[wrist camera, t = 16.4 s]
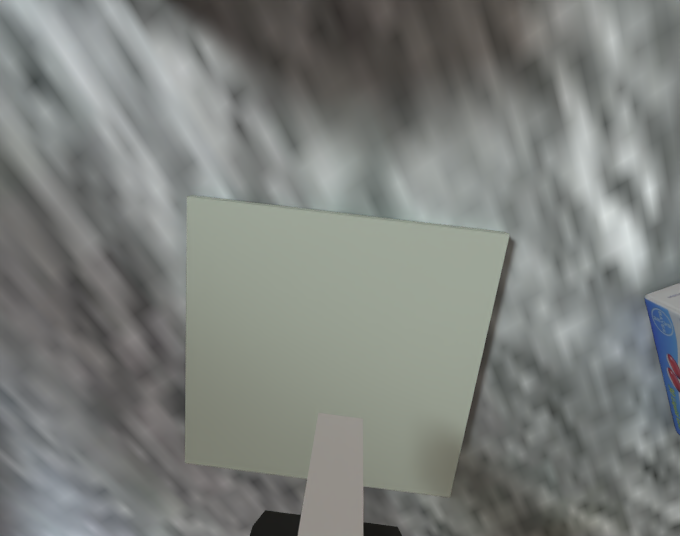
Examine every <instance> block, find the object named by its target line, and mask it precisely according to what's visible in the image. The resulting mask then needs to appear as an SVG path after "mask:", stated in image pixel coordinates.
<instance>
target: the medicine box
mask: <svg viewBox="0 0 680 536" xmlns="http://www.w3.org/2000/svg"><path fill="white" fill-rule="evenodd" d="M645 303H646V307H647V311H648V314H649V318H650V322H651V327H652V331H653V335H654V340H655V344H656V348H657V352H658V357H659V361H660V365H661V369H662V373H663V377H664V382H665V386H666V390H667V395H668V399H669V403H670V407H671V412H672V415H673V420H674V424H675V428H676V431H677V433H678V434H679V435H680V283H678V284H675V285H672V286H670V287H667V288H664V289H661V290H658V291H655V292H652V293H649V294H647V295H646V296H645Z"/></svg>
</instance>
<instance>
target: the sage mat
mask: <svg viewBox="0 0 680 536" xmlns="http://www.w3.org/2000/svg"><path fill="white" fill-rule="evenodd" d="M509 236H510V235H509V234H508V233H506V232H500V231H491V230H483V229H474V228H466V227H457V226H449V225H440V224H432V223H423V222H415V221H406V220H398V219H389V218H381V217H372V216H364V215H355V214H347V213H338V212H330V211H321V210H313V209H304V208H296V207H287V206H279V205H270V204H262V203H253V202H245V201H236V200H228V199H219V198H211V197H202V196H194V195H192V196H188V197H187V261H186V389H185V463H188V464H196V465H203V466H211V467H219V468H227V469H234V470H242V471H250V472H257V473H265V474H273V475H280V476H288V477H296V478H303V479H307V477H308V472H309V466H310V460H311V454H312V448H313V442H314V436H315V430H316V424H317V419H318V413H324V414H332V415H339V416H347V417H355V418H362V419H363V486H365V487H373V488H380V489H388V490H396V491H403V492H411V493H419V494H426V495H434V496H442V497H449V498H450V495H451V490H452V486H453V482H454V477H455V473H456V468H457V464H458V460H459V455H460V451H461V446H462V442H463V438H464V433H465V429H466V424H467V420H468V416H469V411H470V407H471V402H472V398H473V394H474V389H475V385H476V381H477V376H478V372H479V367H480V363H481V359H482V354H483V350H484V345H485V341H486V337H487V332H488V328H489V323H490V319H491V315H492V310H493V306H494V301H495V297H496V293H497V288H498V284H499V280H500V275H501V271H502V266H503V262H504V258H505V253H506V249H507V244H508V240H509Z"/></svg>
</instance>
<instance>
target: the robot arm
mask: <svg viewBox="0 0 680 536" xmlns="http://www.w3.org/2000/svg"><path fill="white" fill-rule="evenodd" d="M250 536H402V535H401V533H400V531H399V529H398V527H394V526H386V525H379V524H371V523H364V522H363V419H362V418H355V417H347V416H339V415H332V414H324V413H318V419H317V424H316V430H315V436H314V442H313V448H312V454H311V460H310V466H309V472H308V477H307V483H306V489H305V495H304V501H303V507H302V513H301V515H296V514H288V513H281V512H274V511H266V510H265V511H264V513H263V514H262V515H261V516H260V518H259V519H258V520H257V521H256V523H255V524H254V525H253V527H252V530H251V533H250Z"/></svg>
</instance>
